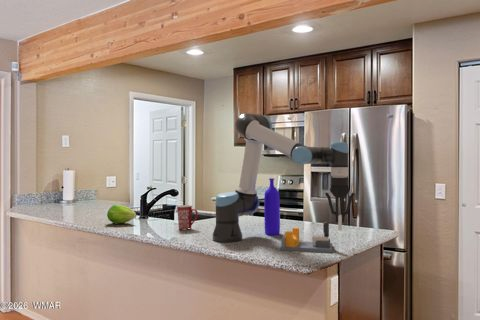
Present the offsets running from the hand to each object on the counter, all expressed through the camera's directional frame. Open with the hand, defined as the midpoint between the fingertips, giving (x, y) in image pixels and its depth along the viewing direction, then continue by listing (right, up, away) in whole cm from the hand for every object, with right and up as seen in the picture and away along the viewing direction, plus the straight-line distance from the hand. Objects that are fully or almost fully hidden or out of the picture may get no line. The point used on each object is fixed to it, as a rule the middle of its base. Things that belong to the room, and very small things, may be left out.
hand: (340, 229), depth 174 cm
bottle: (-27, -9, +37) cm, 47 cm away
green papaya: (-119, -10, +76) cm, 142 cm away
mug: (-75, -10, +55) cm, 94 cm away
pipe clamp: (-20, -8, +5) cm, 22 cm away
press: (-14, -9, +4) cm, 17 cm away
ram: (-8, -7, +2) cm, 11 cm away
